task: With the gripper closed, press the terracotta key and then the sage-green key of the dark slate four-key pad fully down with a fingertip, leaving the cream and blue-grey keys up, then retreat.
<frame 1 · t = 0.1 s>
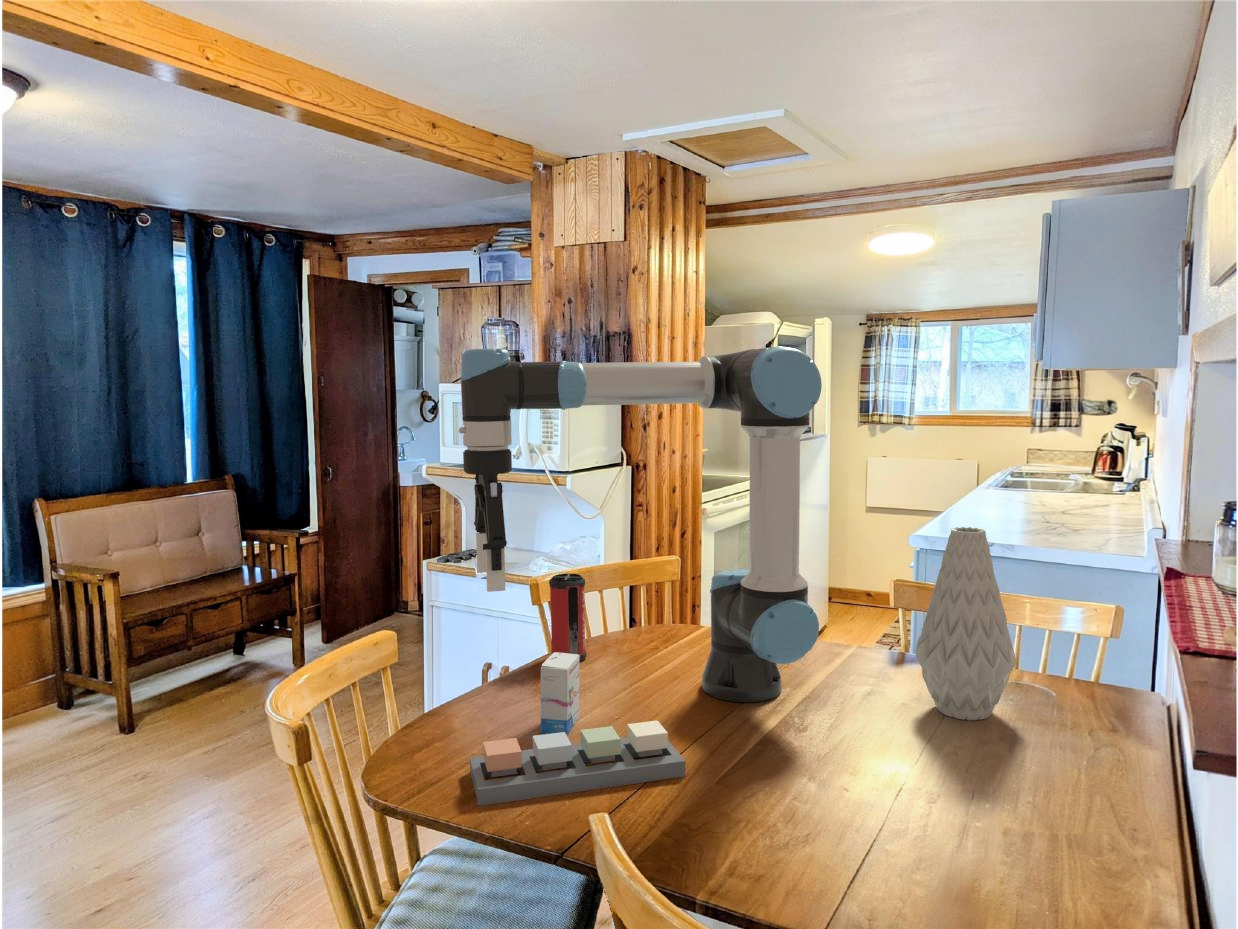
hand: (490, 581, 137), 28 cm above the table, fingers open, 13 cm apart
speaker: (568, 659, 185), on the table
keypad base: (576, 774, 131), on the table
key sage: (600, 745, 131), point 4 cm above the table, slide at 0.0 cm
key cream: (647, 739, 133), point 4 cm above the table, slide at 0.0 cm
ink box: (560, 726, 149), on the table
key bluegrey: (552, 751, 129), point 4 cm above the table, slide at 0.0 cm
key terracotta: (502, 758, 127), point 4 cm above the table, slide at 0.0 cm
vase: (962, 711, 154), on the table
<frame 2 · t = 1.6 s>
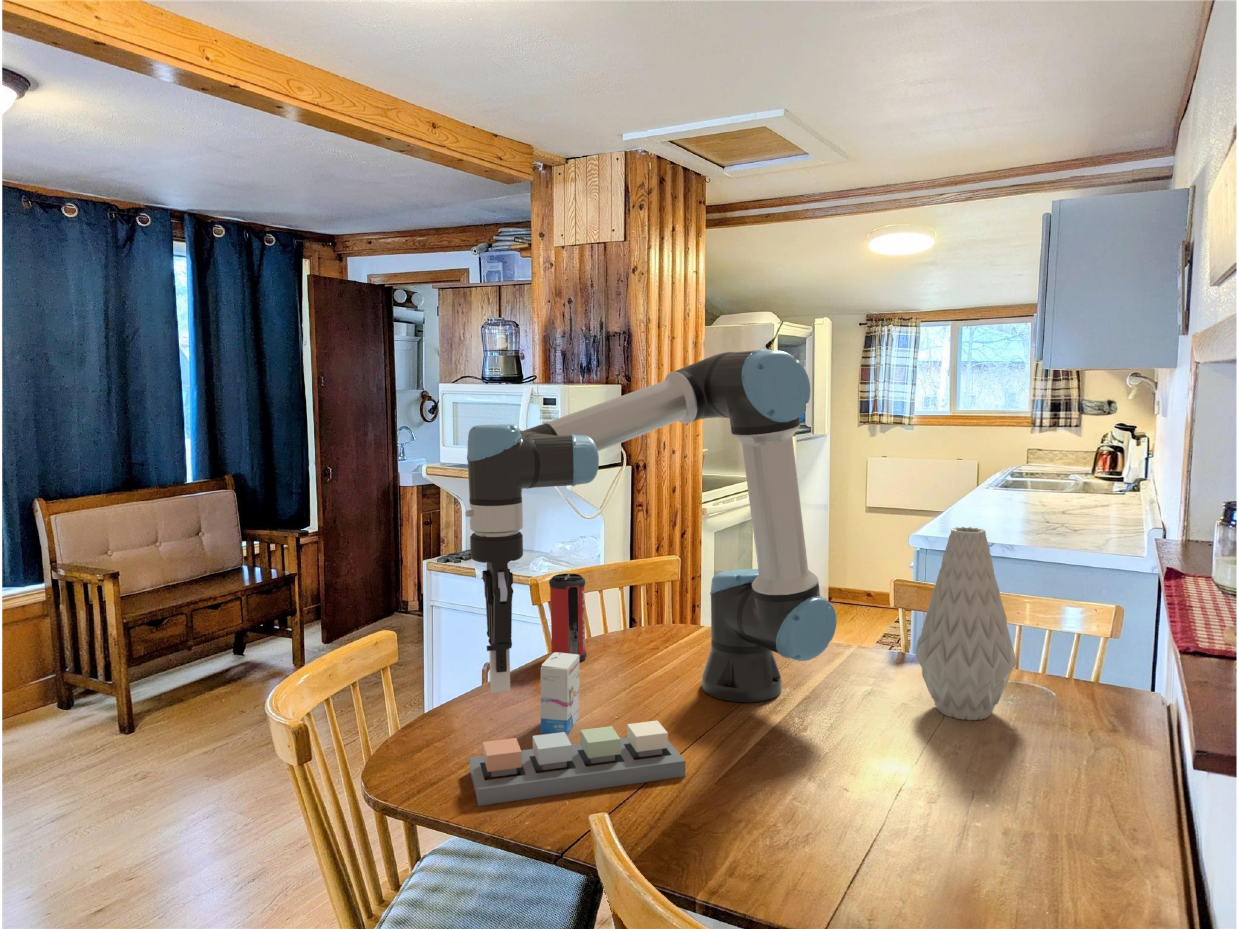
hand: (500, 690, 126), 14 cm above the table, fingers closed
nothing on the table moved.
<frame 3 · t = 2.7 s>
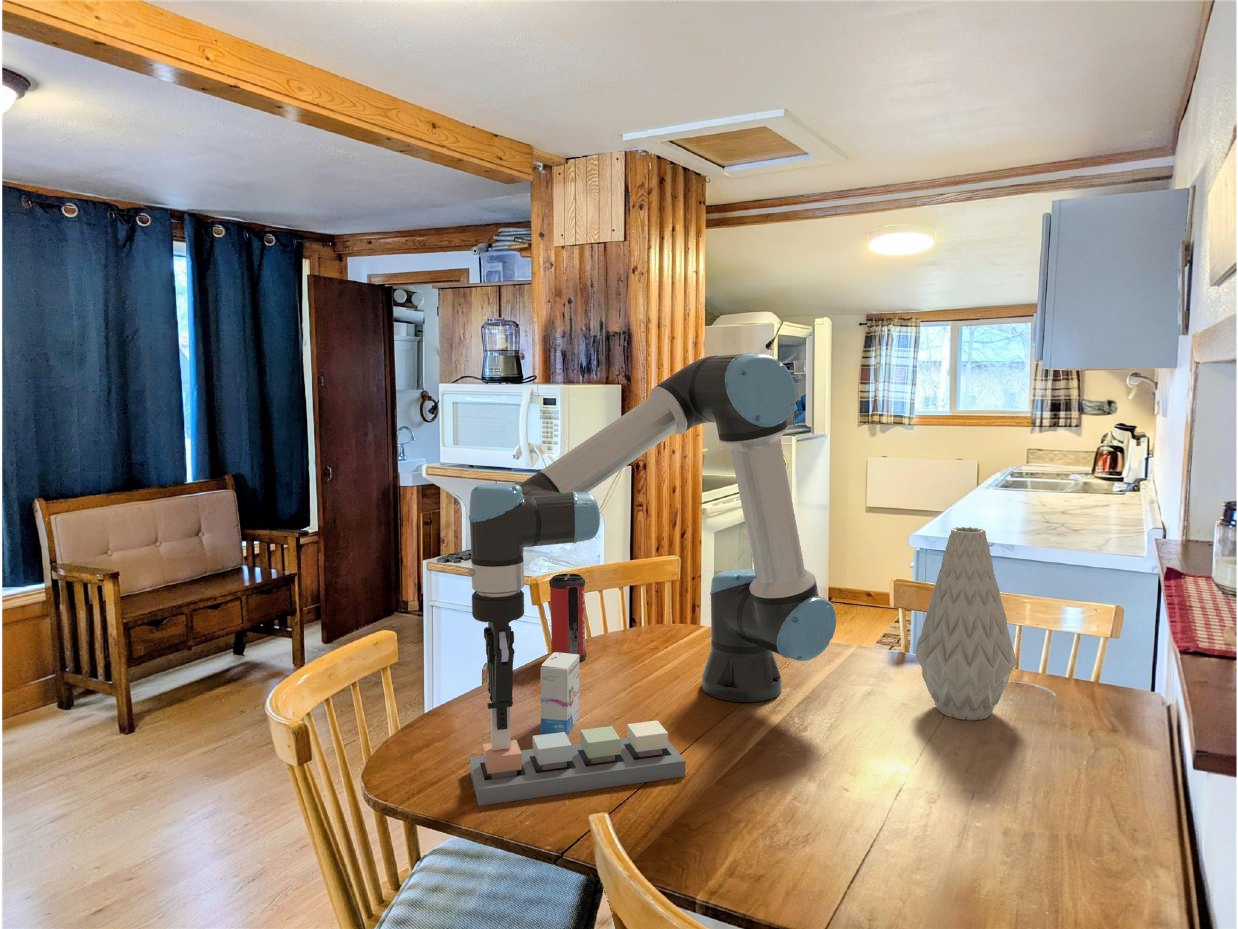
hand: (501, 747, 127), 6 cm above the table, fingers closed
key terracotta: (502, 760, 127), point 4 cm above the table, slide at -0.3 cm, touching gripper
everything else where it was.
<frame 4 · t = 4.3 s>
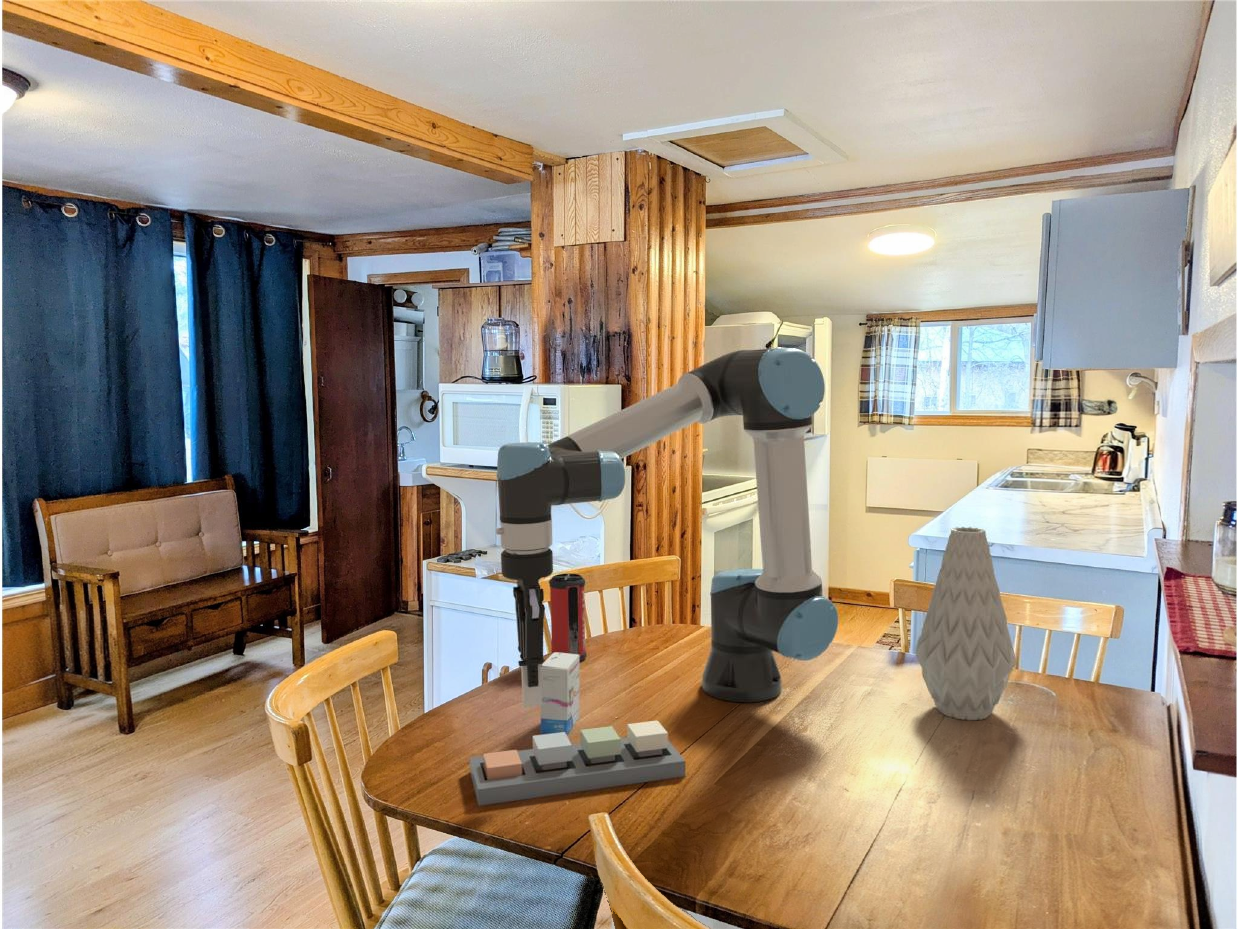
hand: (532, 704, 128), 12 cm above the table, fingers closed
key terracotta: (502, 770, 128), point 2 cm above the table, slide at -1.8 cm
everything else where it was.
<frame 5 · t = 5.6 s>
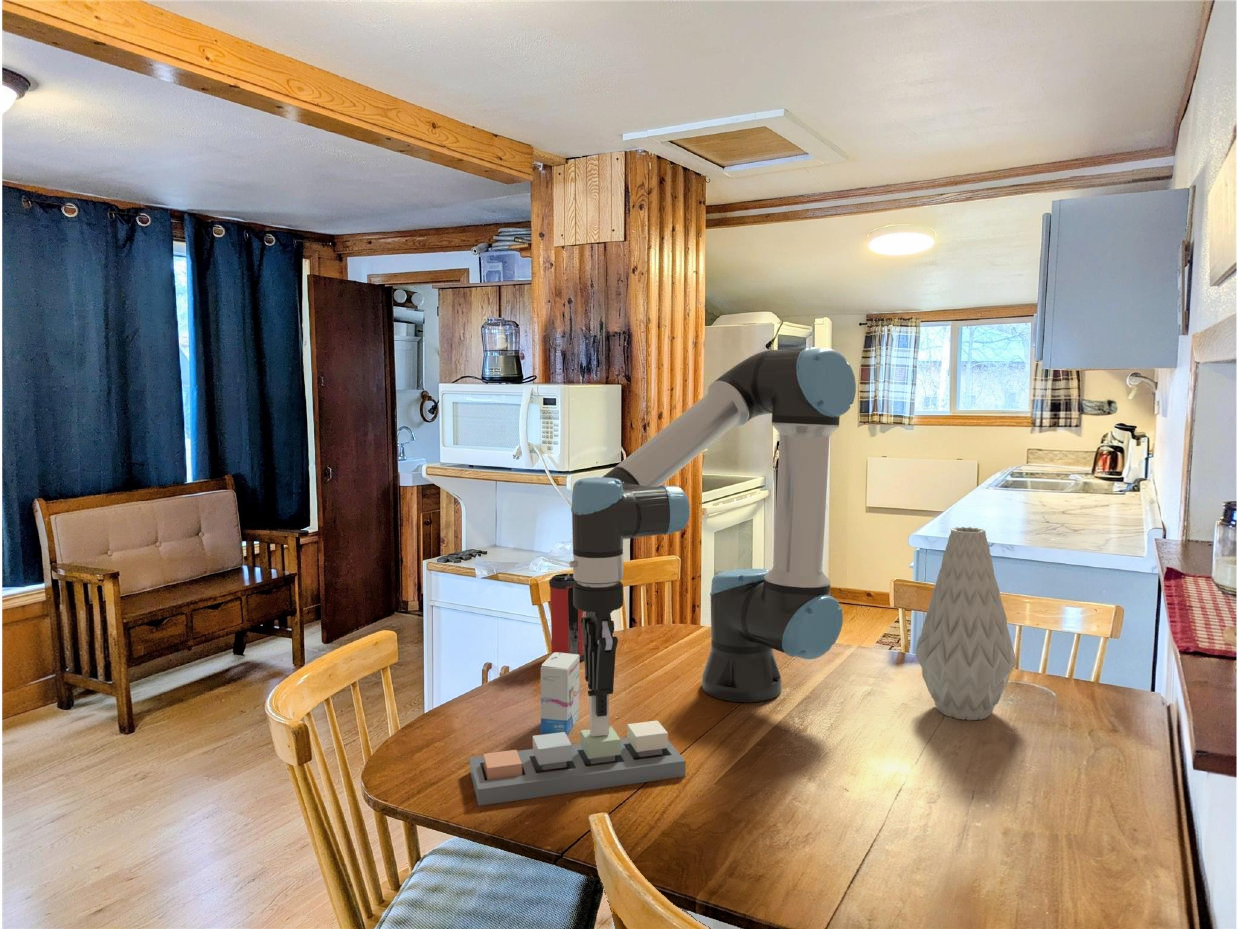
hand: (599, 733, 131), 6 cm above the table, fingers closed
key sage: (600, 746, 131), point 4 cm above the table, slide at -0.1 cm, touching gripper
everything else where it was.
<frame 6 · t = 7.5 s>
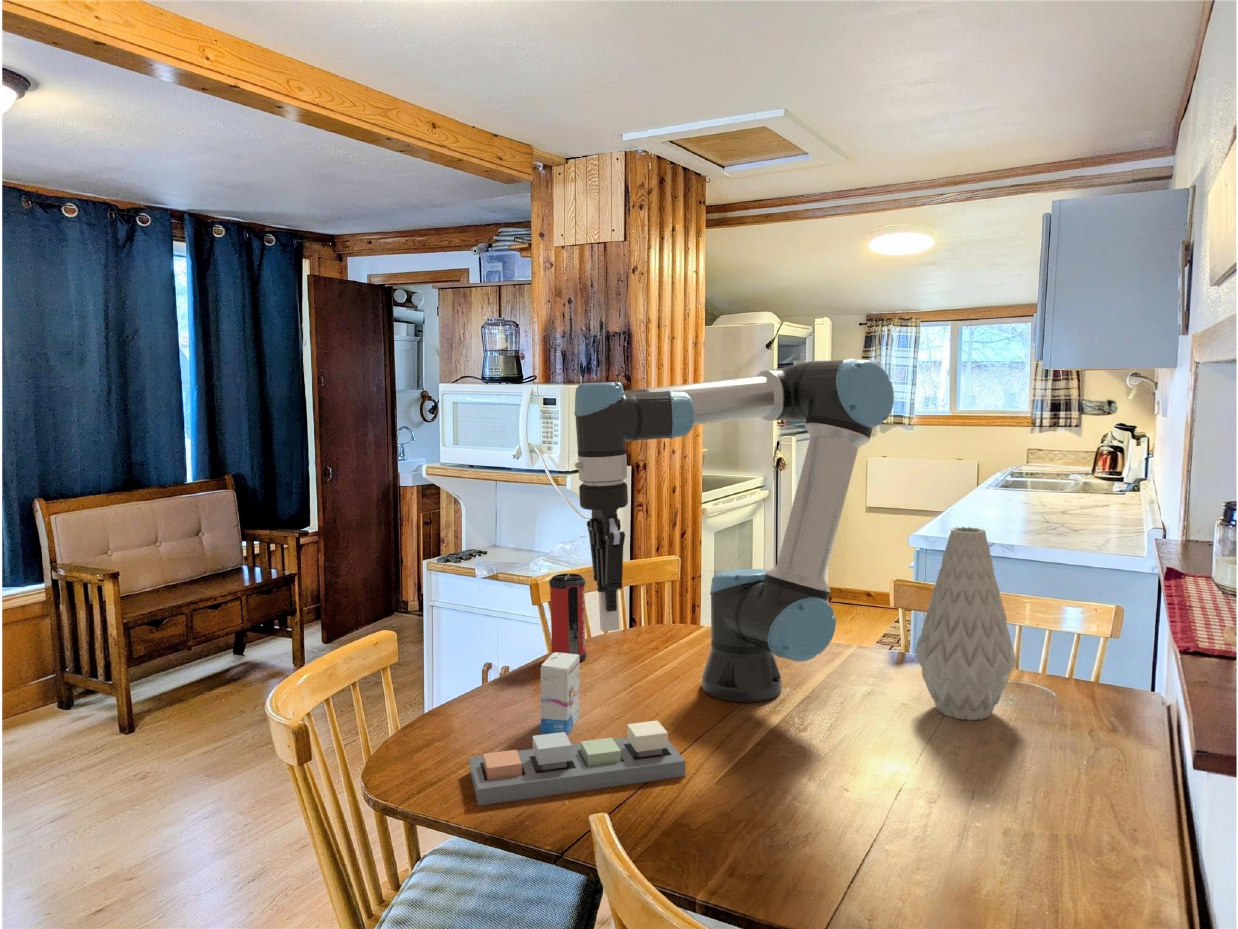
hand: (609, 629, 137), 20 cm above the table, fingers closed
key sage: (600, 757, 132), point 2 cm above the table, slide at -1.9 cm
everything else where it was.
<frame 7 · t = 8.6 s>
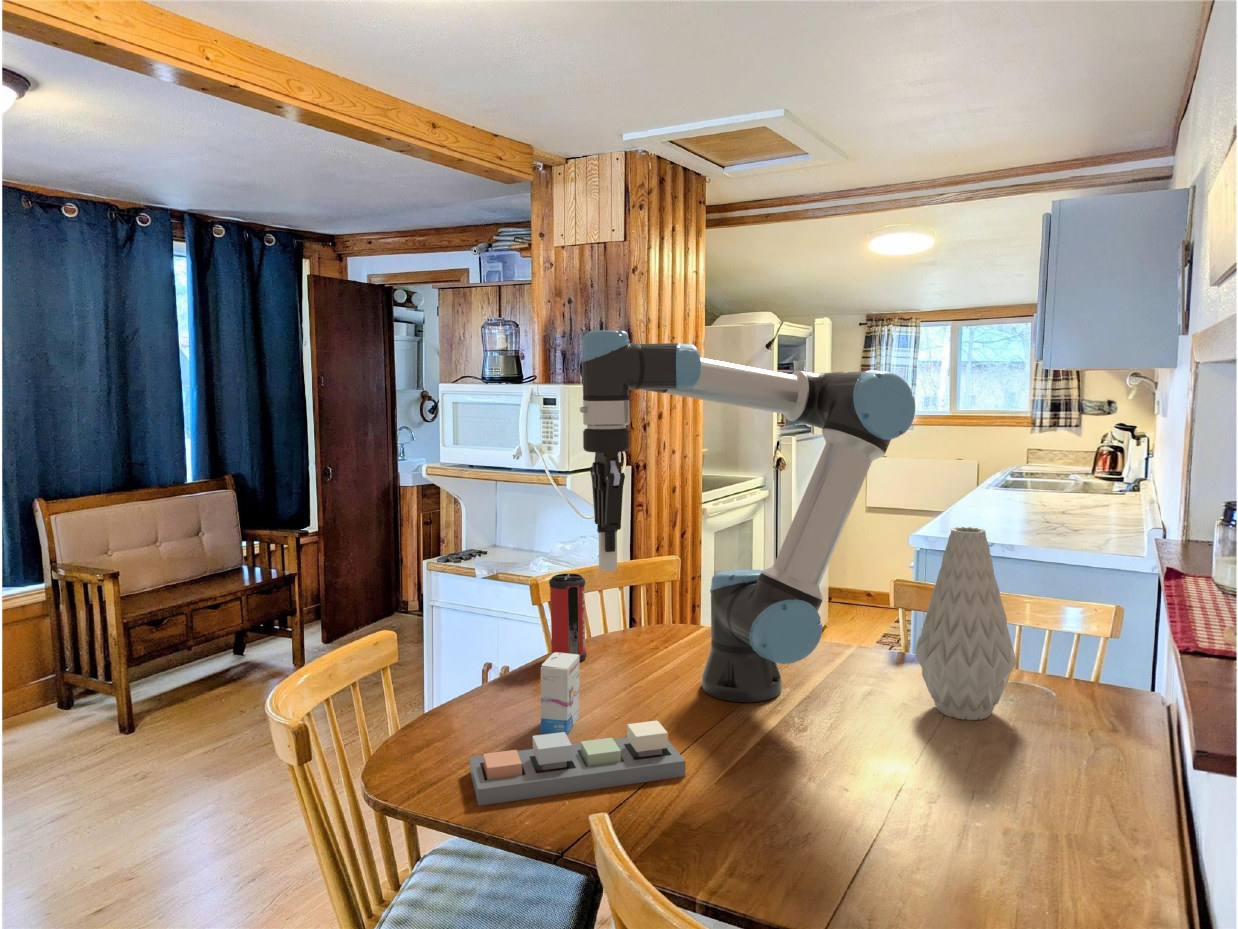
hand: (608, 570, 142), 28 cm above the table, fingers closed
nothing on the table moved.
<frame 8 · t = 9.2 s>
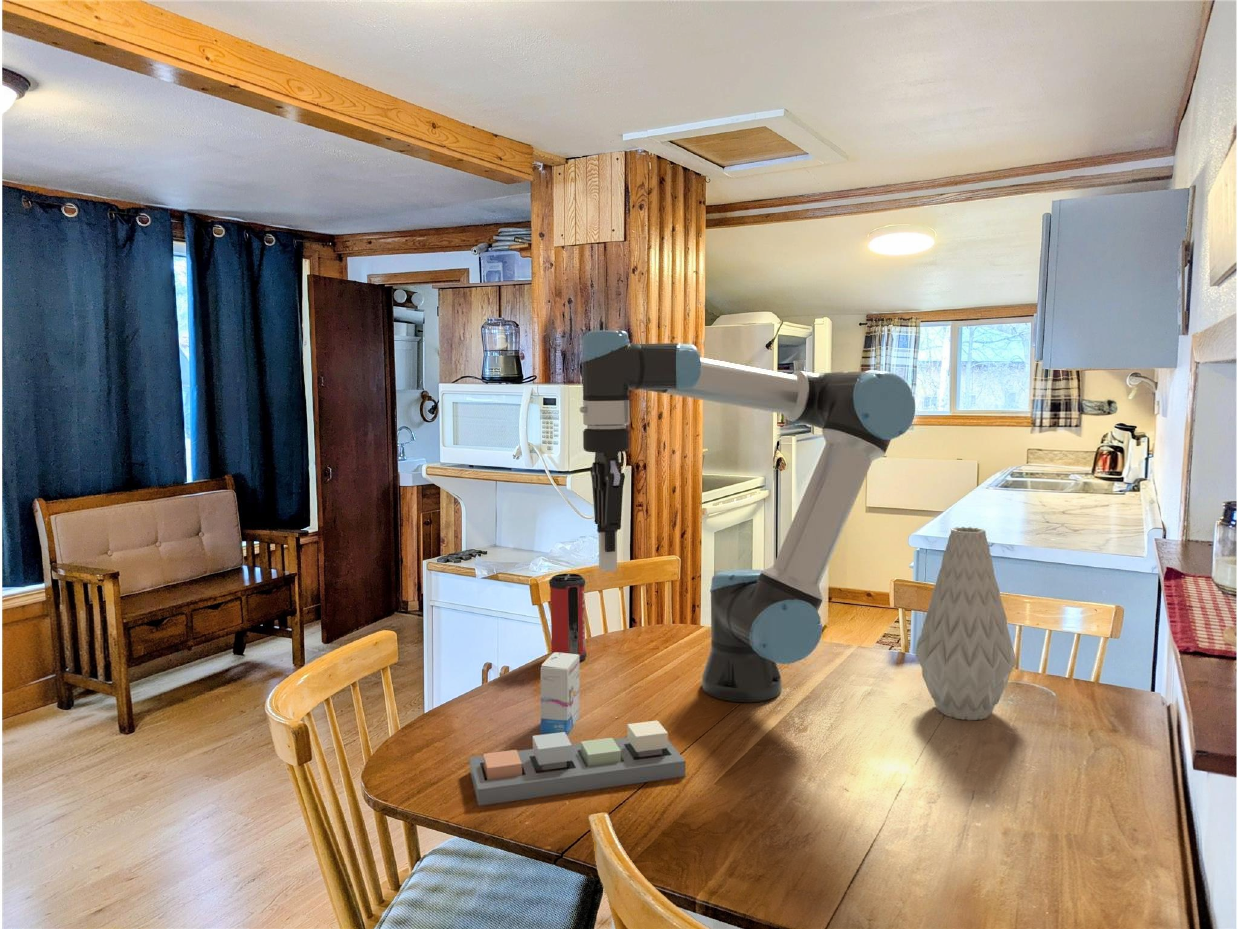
hand: (608, 569, 142), 28 cm above the table, fingers closed
nothing on the table moved.
at the end: key terracotta slide at -1.8 cm; key sage slide at -1.9 cm; key bluegrey slide at 0.0 cm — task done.
